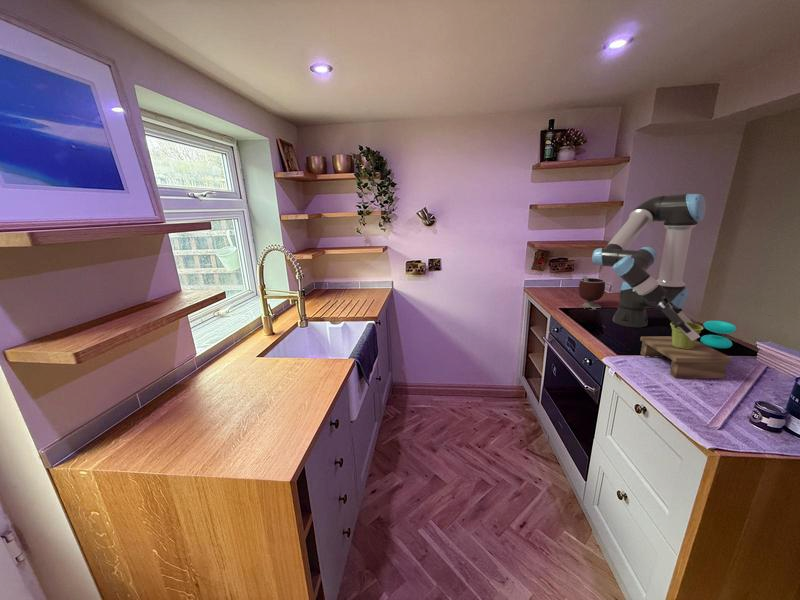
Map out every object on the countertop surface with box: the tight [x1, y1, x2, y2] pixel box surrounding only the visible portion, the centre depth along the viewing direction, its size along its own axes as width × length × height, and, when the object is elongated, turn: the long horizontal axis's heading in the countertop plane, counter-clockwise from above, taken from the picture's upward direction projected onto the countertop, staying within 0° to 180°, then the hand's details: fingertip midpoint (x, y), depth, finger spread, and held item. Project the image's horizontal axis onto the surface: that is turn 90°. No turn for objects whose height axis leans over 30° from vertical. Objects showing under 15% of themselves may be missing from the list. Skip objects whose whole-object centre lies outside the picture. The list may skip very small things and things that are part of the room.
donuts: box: [699, 320, 737, 349], centre depth 136 cm, size 10×10×10 cm
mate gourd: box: [578, 272, 606, 310], centre depth 195 cm, size 16×14×20 cm
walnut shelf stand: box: [640, 335, 733, 379], centre depth 122 cm, size 20×18×8 cm
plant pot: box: [669, 321, 704, 349], centre depth 119 cm, size 9×9×9 cm
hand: (693, 332), depth 118 cm, fingers open, 13 cm apart
